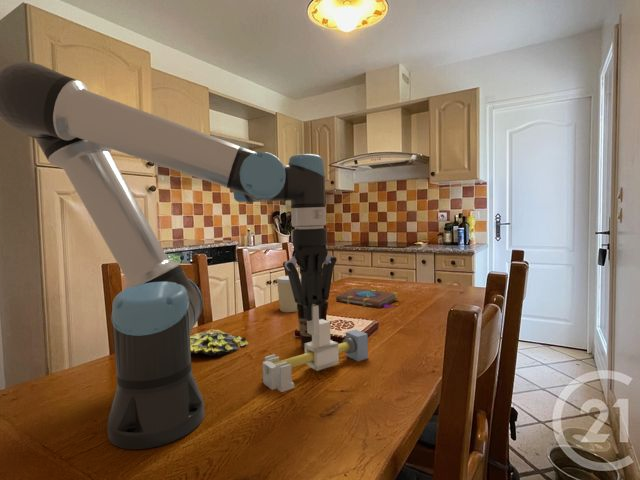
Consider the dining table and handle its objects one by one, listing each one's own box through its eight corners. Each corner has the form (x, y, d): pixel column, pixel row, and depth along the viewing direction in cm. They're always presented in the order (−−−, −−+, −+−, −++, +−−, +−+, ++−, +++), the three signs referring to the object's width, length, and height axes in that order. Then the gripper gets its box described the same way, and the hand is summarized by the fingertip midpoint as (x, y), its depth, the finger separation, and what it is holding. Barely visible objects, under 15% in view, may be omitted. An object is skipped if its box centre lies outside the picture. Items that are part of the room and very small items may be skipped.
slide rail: (277, 393, 72) (275, 364, 71) (259, 379, 78) (257, 352, 78) (373, 360, 87) (372, 335, 86) (351, 350, 93) (350, 327, 93)
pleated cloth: (157, 353, 98) (160, 328, 100) (208, 351, 111) (209, 328, 112) (203, 357, 87) (205, 328, 88) (254, 353, 99) (255, 329, 101)
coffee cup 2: (325, 352, 93) (324, 302, 92) (294, 350, 94) (292, 301, 93) (331, 340, 101) (330, 294, 100) (302, 339, 103) (301, 293, 102)
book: (390, 314, 131) (389, 300, 130) (334, 304, 146) (334, 292, 145) (409, 302, 143) (409, 289, 143) (356, 294, 159) (356, 283, 158)
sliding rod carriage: (317, 371, 79) (315, 326, 78) (305, 363, 83) (303, 321, 82) (338, 363, 83) (337, 321, 82) (326, 357, 87) (325, 316, 86)
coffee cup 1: (307, 308, 137) (307, 276, 136) (293, 314, 129) (292, 280, 128) (288, 305, 142) (287, 274, 141) (272, 310, 134) (271, 278, 133)
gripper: (292, 229, 72) (297, 345, 74) (343, 226, 80) (346, 331, 81) (274, 229, 78) (279, 335, 80) (323, 226, 86) (327, 323, 88)
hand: (313, 333), depth 81 cm, fingers closed
